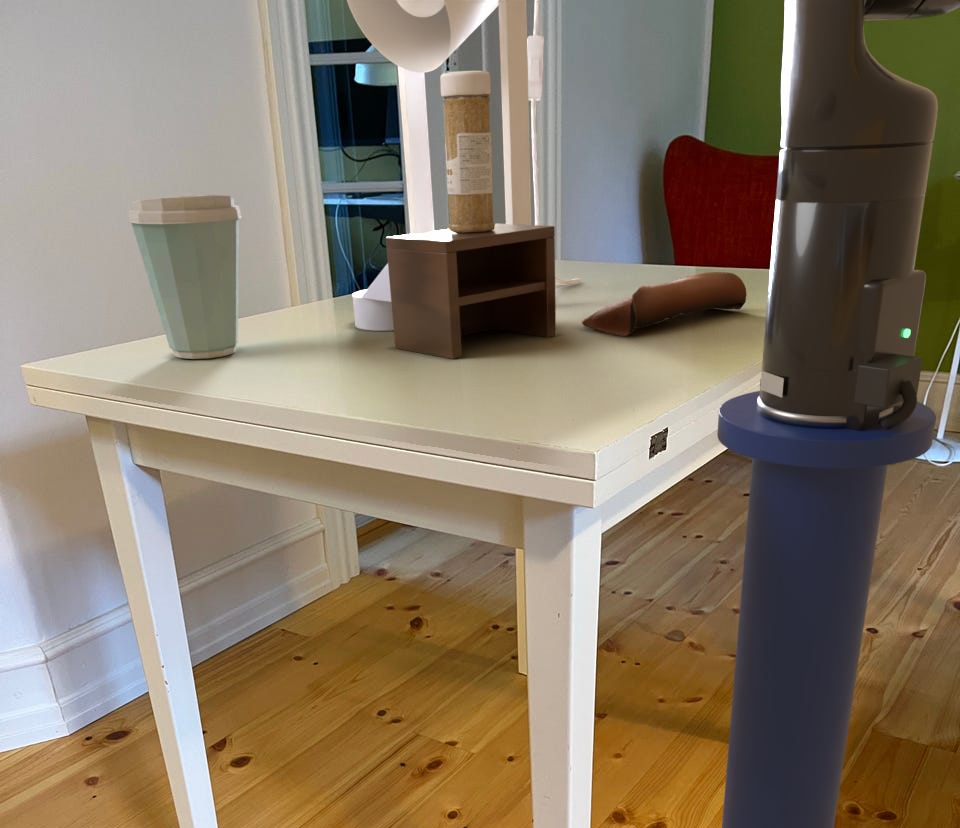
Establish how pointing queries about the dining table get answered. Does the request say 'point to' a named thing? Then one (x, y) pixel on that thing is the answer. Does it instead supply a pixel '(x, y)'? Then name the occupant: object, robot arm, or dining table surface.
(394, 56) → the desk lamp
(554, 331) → the shelf
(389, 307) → the wedge on round base
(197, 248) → the disposable coffee cup
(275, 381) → the dining table surface
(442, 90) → the sprinkles bottle
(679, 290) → the sunglasses case
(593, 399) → the dining table surface
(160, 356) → the dining table surface
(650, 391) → the dining table surface
